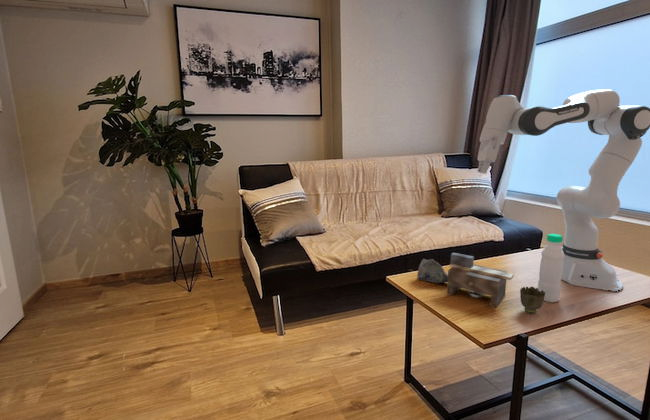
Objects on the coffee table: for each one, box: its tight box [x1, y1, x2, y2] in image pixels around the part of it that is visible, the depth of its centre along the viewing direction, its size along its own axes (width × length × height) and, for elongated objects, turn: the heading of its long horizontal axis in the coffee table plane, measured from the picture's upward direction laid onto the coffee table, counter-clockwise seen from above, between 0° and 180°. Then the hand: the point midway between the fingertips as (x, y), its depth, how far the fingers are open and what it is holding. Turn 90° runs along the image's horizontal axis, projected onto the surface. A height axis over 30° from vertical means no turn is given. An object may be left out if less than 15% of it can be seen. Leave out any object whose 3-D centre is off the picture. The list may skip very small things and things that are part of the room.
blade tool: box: [449, 252, 515, 281], centre depth 131 cm, size 22×4×5 cm, turn 50°
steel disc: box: [468, 290, 484, 299], centre depth 134 cm, size 5×5×2 cm
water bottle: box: [537, 233, 564, 303], centre depth 127 cm, size 7×7×25 cm
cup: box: [519, 286, 545, 315], centre depth 120 cm, size 8×7×8 cm
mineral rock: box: [416, 258, 448, 284], centre depth 146 cm, size 13×11×10 cm
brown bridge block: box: [446, 263, 508, 308], centre depth 133 cm, size 18×13×10 cm
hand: (481, 172), depth 135 cm, fingers open, 8 cm apart
